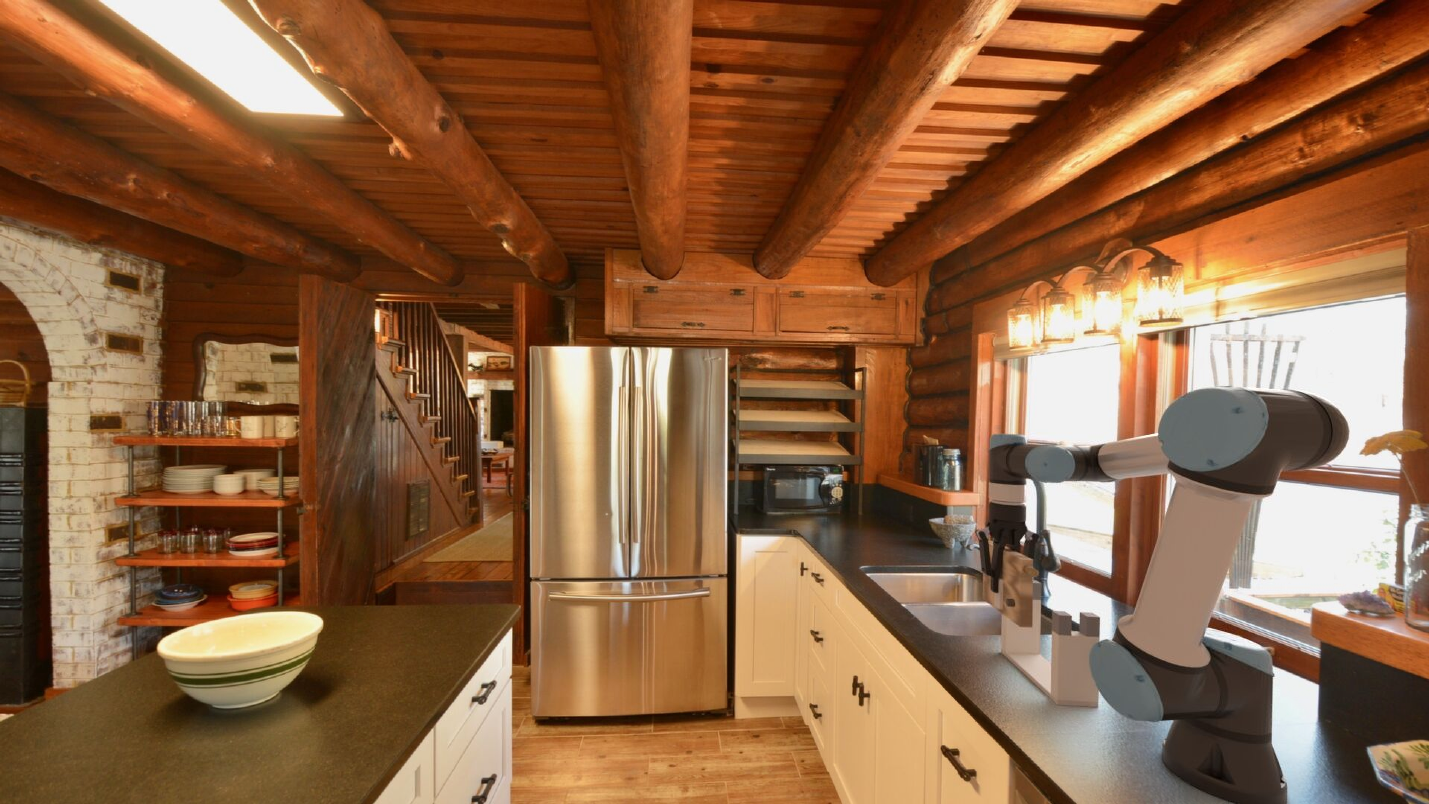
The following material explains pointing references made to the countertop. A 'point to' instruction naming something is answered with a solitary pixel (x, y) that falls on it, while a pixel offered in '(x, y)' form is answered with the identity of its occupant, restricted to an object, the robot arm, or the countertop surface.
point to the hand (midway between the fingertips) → (1005, 607)
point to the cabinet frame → (1055, 654)
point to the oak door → (1014, 587)
